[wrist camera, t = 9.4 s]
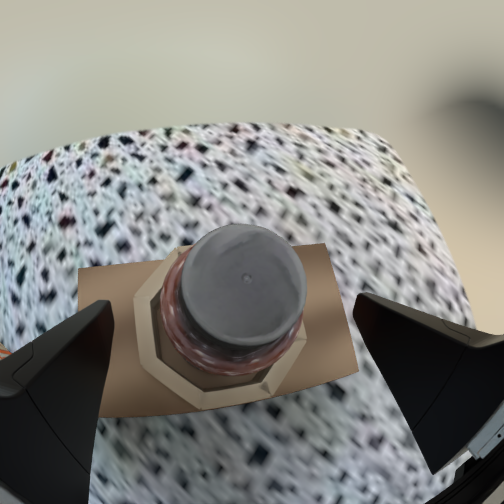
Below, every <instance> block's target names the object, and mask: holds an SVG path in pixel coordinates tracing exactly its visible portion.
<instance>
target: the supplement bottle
mask: <svg viewBox="0 0 504 504" xmlns="http://www.w3.org/2000/svg"><path fill="white" fill-rule="evenodd" d="M306 296H307V279H306V274H305V271H304V268H303V265H302V263H301V261H300V259H299V257H298V255H297V253H296V252H295V251H294V249H293V248H292V247H291V246H290V245H289V244H288V243H287V242H286V241H285V240H284V239H283V238H282V237H280V236H278V235H277V234H275V233H274V232H272V231H270V230H268V229H266V228H263V227H259V226H255V225H248V224H233V225H226V226H223V227H220V228H217V229H215V230H213V231H211V232H209V233H208V234H206V235H205V236H203V237H202V238H201V239H200V240H199V241H198V242H197V243H196V244H194V245H192V246H191V247H189V248H188V249H187V250H185V251H184V252H183V253H182V254H181V255H180V256H179V257H178V258H177V259H176V260H175V262H174V263H173V264H172V266H171V267H170V269H169V271H168V273H167V275H166V277H165V279H164V282H163V286H162V289H161V294H160V312H161V319H162V323H163V326H164V329H165V332H166V334H167V336H168V338H169V340H170V342H171V343H172V345H173V347H174V348H175V349H176V351H177V352H178V353H179V354H180V355H181V356H182V357H183V358H184V359H185V360H186V361H187V362H188V363H189V364H191V365H192V366H194V367H196V368H197V369H200V370H202V371H205V372H208V373H212V374H216V375H222V376H243V375H248V374H252V373H255V372H258V371H261V370H263V369H265V368H267V367H269V366H271V365H272V364H274V363H275V362H277V361H278V360H279V359H280V358H281V357H282V356H283V355H284V354H285V353H286V352H287V351H288V350H289V349H290V347H291V346H292V344H293V343H294V341H295V340H296V338H297V335H298V333H299V331H300V328H301V324H302V319H303V313H304V306H305V301H306Z"/></svg>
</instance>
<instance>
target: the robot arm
mask: <svg viewBox="0 0 504 504" xmlns="http://www.w3.org/2000/svg"><path fill="white" fill-rule="evenodd" d="M353 318H354V320H355V322H356V325H357V327H358V329H359V331H360V334H361V336H362V338H363V340H364V343H365V345H366V347H367V349H368V351H369V352H370V354H371V356H372V358H373V360H374V361H375V363H376V365H377V367H378V369H379V370H380V372H381V374H382V376H383V378H384V379H385V381H386V383H387V385H388V387H389V389H390V391H391V392H392V394H393V396H394V398H395V400H396V402H397V404H398V406H399V408H400V410H401V412H402V413H403V415H404V417H405V419H406V421H407V423H408V425H409V427H410V429H411V431H412V434H413V436H414V438H415V440H416V442H417V444H418V446H419V448H420V450H421V452H422V454H423V456H424V459H425V461H426V463H427V465H428V467H429V469H430V472H431V473H432V475H434V474H436V473H437V472H439V471H440V470H442V469H443V468H445V467H446V466H448V465H449V464H450V463H452V462H453V461H454V460H456V459H457V458H458V457H460V456H461V455H462V454H464V453H465V452H466V451H467V450H469V452H470V453H471V454H472V457H471V458H469V459H468V460H467V461H466V462H464V463H463V464H462V465H461V466H460V467H459V468H458V469H457V470H456V472H455V478H454V483H453V484H452V485H450V486H449V487H448V488H446V489H445V490H444V491H442V492H441V493H440V494H438V495H437V496H435V497H434V498H432V499H431V500H429V501H428V502H426V503H425V504H504V334H503V335H492V334H488V333H485V332H481V331H478V330H475V329H472V328H468V327H465V326H462V325H459V324H456V323H453V322H450V321H447V320H444V319H440V318H439V317H436V316H433V315H430V314H427V313H425V312H422V311H419V310H416V309H413V308H411V307H408V306H405V305H402V304H399V303H397V302H394V301H391V300H388V299H385V298H382V297H380V296H377V295H374V294H371V293H368V292H365V293H359V294H358V295H357V298H356V301H355V305H354V309H353ZM114 328H115V321H114V316H113V311H112V306H111V302H110V301H109V300H97V301H95V302H94V303H92V304H90V305H89V306H87V307H85V308H84V309H82V310H81V311H79V312H77V313H76V314H74V315H72V316H71V317H69V318H67V319H66V320H64V321H63V322H61V323H59V324H58V325H56V326H55V327H53V328H51V329H50V330H48V331H47V332H45V333H44V334H42V335H40V336H39V337H37V338H36V339H34V340H33V341H32V342H29V343H28V344H26V345H25V346H23V347H22V348H20V349H18V350H17V351H15V352H14V353H12V354H10V355H8V356H7V357H5V358H3V359H1V360H0V504H88V500H89V485H90V472H91V463H92V455H93V447H94V440H95V433H96V427H97V421H98V416H99V410H100V405H101V400H102V395H103V391H104V386H105V382H106V377H107V373H108V369H109V364H110V357H111V349H112V342H113V335H114Z"/></svg>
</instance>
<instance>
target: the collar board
mask: <svg viewBox="0 0 504 504" xmlns="http://www.w3.org/2000/svg"><path fill="white" fill-rule="evenodd" d="M191 246H192V245H190V246H180V247H177V249H176V248H175V249H174V250H173V251H172V252H171V253H170V254H169V255H168V256H167V258H166V259H165V260H155V261H145V262H136V263H126V264H116V265H107V266H97V267H88V268H78V312H79V311H81V310H82V309H84V308H85V307H87V306H89V305H90V304H92V303H94V302H95V301H97V300H109V301H110V302H111V306H112V311H113V316H114V321H115V328H114V335H113V342H112V349H111V357H110V364H109V369H108V373H107V377H106V382H105V386H104V391H103V395H102V400H101V405H100V410H99V416H98V417H106V418H112V417H145V416H160V415H171V414H181V413H190V412H198V411H205V410H212V409H218V408H224V407H230V406H235V405H241V404H246V403H251V402H255V401H260V400H264V399H269V398H273V397H277V396H281V395H285V394H289V393H293V392H296V391H300V390H304V389H307V388H310V387H314V386H317V385H320V384H324V383H327V382H330V381H333V380H336V379H339V378H342V377H345V376H348V375H350V374H353V373H356V372H359V369H358V364H357V360H356V356H355V351H354V347H353V343H352V338H351V334H350V330H349V326H348V322H347V318H346V315H345V311H344V307H343V303H342V300H341V296H340V292H339V289H338V285H337V282H336V278H335V275H334V271H333V268H332V265H331V261H330V258H329V255H328V252H327V248H326V245H325V243H322V244H312V245H302V246H292V248H293V249H294V251H295V252H296V253H297V255H298V257H299V259H300V261H301V263H302V265H303V268H304V271H305V274H306V279H307V296H306V301H305V306H304V313H303V319H302V324H301V328H300V331H299V333H298V335H297V338H296V340H295V341H294V343H293V344H292V346H291V347H290V349H289V350H288V351H287V352H286V353H285V354H284V355H283V356H282V357H281V358H280V359H279V360H278V361H277V362H275V363H274V364H272V365H271V366H269V367H267V368H265V369H263V370H261V371H258V372H255V373H252V374H248V375H243V376H222V375H216V374H212V373H208V372H205V371H202V370H200V369H197V368H196V367H194V366H192V365H191V364H189V363H188V362H187V361H186V360H185V359H184V358H183V357H182V356H181V355H180V354H179V353H178V352H177V351H176V349H175V348H174V347H173V345H172V343H171V342H170V340H169V338H168V336H167V334H166V332H165V329H164V326H163V323H162V319H161V312H160V294H161V289H162V286H163V282H164V279H165V277H166V275H167V273H168V271H169V269H170V267H171V266H172V264H173V263H174V262H175V260H176V259H177V258H178V257H179V256H180V255H181V254H182V253H183V252H184V251H185V250H187V249H188V248H189V247H191Z"/></svg>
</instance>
